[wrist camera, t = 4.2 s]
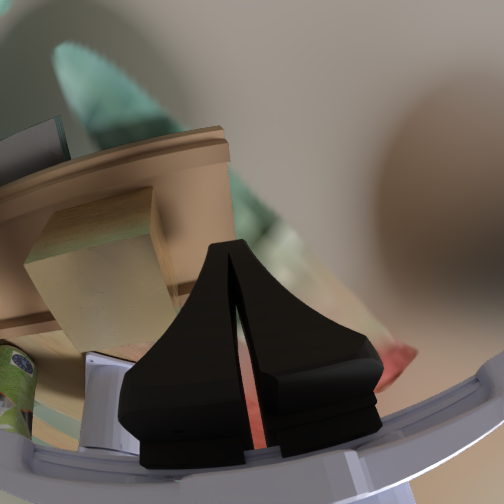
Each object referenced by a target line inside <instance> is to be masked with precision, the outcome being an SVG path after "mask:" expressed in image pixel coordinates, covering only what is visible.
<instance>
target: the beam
mask: <svg viewBox="0 0 504 504" xmlns="http://www.w3.org/2000/svg"><path fill="white" fill-rule="evenodd" d="M227 162H230V154H229V144H228V142H227V141H226V139H225V137H224V129H223V128H222V127H221V126H213V127H207V128H200V129H195V130H189V131H184V132H178V133H173V134H168V135H163V136H159V137H154V138H150V139H145V140H141V141H137V142H133V143H129V144H125V145H121V146H117V147H113V148H110V149H106V150H102V151H99V152H96V153H92V154H89V155H85V156H82V157H79V158H76V159H73V160H70V161H67V162H64V163H61V164H58V165H55V166H52V167H49V168H46V169H44V170H41V171H38V172H36V173H33V174H30V175H28V176H25V177H23V178H20V179H18V180H15V181H13V182H11V183H8V184H6V185H4V186H1V187H0V339H4V338H11V337H18V336H25V335H31V334H38V333H44V332H50V331H56V330H63V329H62V328H61V327H60V325H59V324H58V322H57V321H56V319H55V318H54V316H53V315H52V313H51V311H50V310H49V308H48V307H47V305H46V304H45V302H44V300H43V299H42V297H41V295H40V294H39V292H38V290H37V289H36V287H35V285H34V283H33V282H32V280H31V278H30V276H29V274H28V273H27V271H26V269H25V267H24V265H23V264H24V262H25V261H26V259H27V257H28V255H29V253H30V251H31V249H32V247H33V246H34V244H35V242H36V240H37V239H38V237H39V235H40V233H41V232H42V230H43V228H44V227H45V225H46V223H47V222H48V220H49V218H50V217H51V215H52V214H53V213H54V212H57V211H61V210H64V209H67V208H71V207H74V206H77V205H81V204H84V203H88V202H92V201H95V200H99V199H103V198H106V197H110V196H114V195H118V194H122V193H126V192H130V191H134V190H138V189H143V188H147V187H151V186H153V188H154V192H155V197H156V201H157V205H158V209H159V213H160V217H161V221H162V225H163V229H164V233H165V237H166V241H167V244H168V248H169V252H170V255H171V259H172V263H173V266H174V270H175V273H176V279H177V288H178V296H179V304H180V307H183V305H184V304H185V302H186V300H187V298H188V297H189V295H190V293H191V291H192V289H193V287H194V285H195V283H196V281H197V278H198V276H199V274H200V271H201V269H202V266H203V264H204V261H205V258H206V255H207V251H208V246H209V245H210V244H211V243H218V242H225V241H232V240H236V236H235V227H234V219H233V210H232V201H231V192H230V183H229V174H228V165H227Z"/></svg>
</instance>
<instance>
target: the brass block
mask: <svg viewBox="0 0 504 504" xmlns="http://www.w3.org/2000/svg"><path fill="white" fill-rule="evenodd" d="M23 265H24V267H25V269H26V271H27V273H28V274H29V276H30V278H31V280H32V282H33V283H34V285H35V287H36V289H37V290H38V292H39V294H40V295H41V297H42V299H43V300H44V302H45V304H46V305H47V307H48V308H49V310H50V311H51V313H52V315H53V316H54V318H55V319H56V321H57V322H58V324H59V325H60V327H61V328H62V329H63V331H64V332H65V334H66V335H67V337H68V338H69V339H70V341H71V342H72V344H73V345H74V346H75V348H76V349H77V350H78V352H79V353H81V352H88V351H95V350H101V349H108V348H114V347H120V346H126V345H132V344H137V343H143V342H148V341H154V340H159V338H160V337H161V336H162V335H163V334H164V333H165V331H166V330H167V329H168V327H169V326H170V325H171V323H172V322H173V320H174V319H175V318H176V316H177V315H178V313H179V312H180V304H179V296H178V288H177V279H176V273H175V270H174V266H173V263H172V259H171V255H170V252H169V248H168V244H167V241H166V237H165V233H164V229H163V225H162V221H161V217H160V213H159V209H158V205H157V201H156V197H155V192H154V188H153V186H151V187H147V188H143V189H138V190H134V191H130V192H126V193H122V194H118V195H114V196H110V197H106V198H103V199H99V200H95V201H92V202H88V203H84V204H81V205H77V206H74V207H71V208H67V209H64V210H61V211H57V212H54V213H53V214H52V215H51V217H50V218H49V220H48V222H47V223H46V225H45V227H44V228H43V230H42V232H41V233H40V235H39V237H38V239H37V240H36V242H35V244H34V246H33V247H32V249H31V251H30V253H29V255H28V257H27V259H26V261H25V262H24V264H23Z"/></svg>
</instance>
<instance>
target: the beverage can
mask: <svg viewBox="0 0 504 504" xmlns="http://www.w3.org/2000/svg"><path fill="white" fill-rule="evenodd" d="M37 374H38V371H37V367H36V365H35V363H34V362H33V361H32V360H31V359H30V358H29V356H28V355H27V354H25V353H24V352H23V351H21V350H20V349H18V348H16V347H13V346H9V345H2V346H0V429H3V430H6V431H10V432H14V433H18V434H20V435H23V436H25V437H26V438H28V439H29V440H31V436H32V419H33V407H34V397H35V388H36V381H37Z"/></svg>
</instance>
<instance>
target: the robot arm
mask: <svg viewBox="0 0 504 504" xmlns="http://www.w3.org/2000/svg"><path fill="white" fill-rule="evenodd" d="M236 307H237V310H238V314H239V318H240V321H241V325H242V329H243V332H244V336H245V339H246V343H247V346H248V350H249V354H250V359H251V364H252V369H253V374H254V380H255V386H256V391H257V396H258V402H259V408H260V413H261V419H262V424H263V429H264V435H265V440H266V446H267V448H262V449H256V450H255V449H254V444H253V439H252V433H251V428H250V422H249V417H248V411H247V405H246V399H245V394H244V388H243V382H242V376H241V369H240V363H239V355H238V339H237V319H236ZM383 370H384V366H383V363H382V361H381V359H380V357H379V355H378V353H377V351H376V350H375V348H374V347H373V345H372V344H371V342H370V341H369V339H368V338H367V337H366V336H365V335H363V334H360V333H358V332H356V331H353V330H351V329H349V328H346V327H344V326H342V325H340V324H338V323H336V322H334V321H332V320H330V319H328V318H326V317H325V316H323V315H321V314H320V313H318V312H317V311H315V310H314V309H312V308H310V307H309V306H307V305H306V304H305V303H303V302H302V301H301V300H299V299H298V298H297V297H295V296H294V295H293V294H292V293H290V292H289V291H288V290H287V289H286V288H285V287H284V286H282V285H281V284H280V283H279V282H278V281H277V280H276V279H275V278H274V277H273V276H272V275H271V274H270V273H269V272H268V270H267V269H266V268H265V267H264V266H263V265H262V264H261V262H260V261H259V260H258V259H257V258H256V256H255V255H254V254H253V252H252V251H251V249H250V248H249V246H248V245H247V243H246V241H245V240H243V239H239V240H232V241H225V242H218V243H211V244H210V245H209V246H208V251H207V255H206V258H205V261H204V264H203V266H202V269H201V271H200V274H199V276H198V278H197V281H196V283H195V285H194V287H193V289H192V291H191V293H190V295H189V297H188V298H187V300H186V302H185V304H184V305H183V307H182V308H181V310H180V312H179V313H178V315H177V316H176V318H175V319H174V320H173V322H172V323H171V325H170V326H169V327H168V329H167V330H166V331H165V333H164V334H163V335H162V336H161V337H160V338H159V340H158V341H157V342H156V343H155V344H154V345H153V347H152V348H151V349H150V350H149V351H148V352H147V353H146V354H145V355H144V356H143V357H142V358H141V359H140V360H139V361H138V362H137V363H132V362H128V361H123V360H119V359H116V358H112V357H108V356H104V355H101V354H97V353H94V352H87V354H86V369H85V401H84V408H83V415H82V422H81V430H80V439H79V446H78V451H71V450H64V449H58V448H53V447H47V446H43V445H38V444H34V443H33V442H32V441H31V440H29V439H28V438H26V437H25V436H23V435H20V434H18V433H14V432H10V431H6V430H3V429H0V490H2V491H5V492H7V493H9V494H12V495H14V496H16V497H19V498H21V499H24V500H27V501H29V502H32V503H35V504H416V502H415V499H414V496H413V494H412V490H411V487H410V484H409V482H408V481H410V480H412V479H414V478H416V477H418V476H420V475H422V474H424V473H426V472H428V471H430V470H432V469H433V468H435V467H437V466H439V465H441V464H442V463H444V462H446V461H448V460H449V459H451V458H453V457H455V456H456V455H458V454H460V453H461V452H463V451H464V450H466V449H467V448H469V447H470V446H472V445H474V444H475V443H476V442H478V441H479V440H481V439H482V438H484V437H485V436H487V435H488V434H489V433H491V432H492V431H493V430H495V429H496V428H498V427H499V426H500V425H501V424H503V423H504V350H503V351H502V352H500V353H499V354H497V355H495V356H494V357H492V358H490V359H489V360H487V361H486V362H485V363H484V364H483V365H482V366H481V367H480V368H479V369H478V371H477V372H476V374H475V375H473V376H472V377H470V378H468V379H466V380H464V381H462V382H460V383H459V384H457V385H455V386H453V387H451V388H449V389H447V390H445V391H443V392H441V393H439V394H437V395H434V396H432V397H430V398H428V399H426V400H424V401H421V402H419V403H417V404H414V405H412V406H410V407H407V408H405V409H402V410H400V411H397V412H395V413H392V414H390V415H387V416H384V417H382V418H380V416H379V414H378V412H377V409H376V407H375V404H376V403H377V399H376V397H375V394H374V392H373V390H374V389H375V387H376V385H377V383H378V382H379V380H380V378H381V376H382V373H383ZM176 480H180V481H179V482H176Z"/></svg>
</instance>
